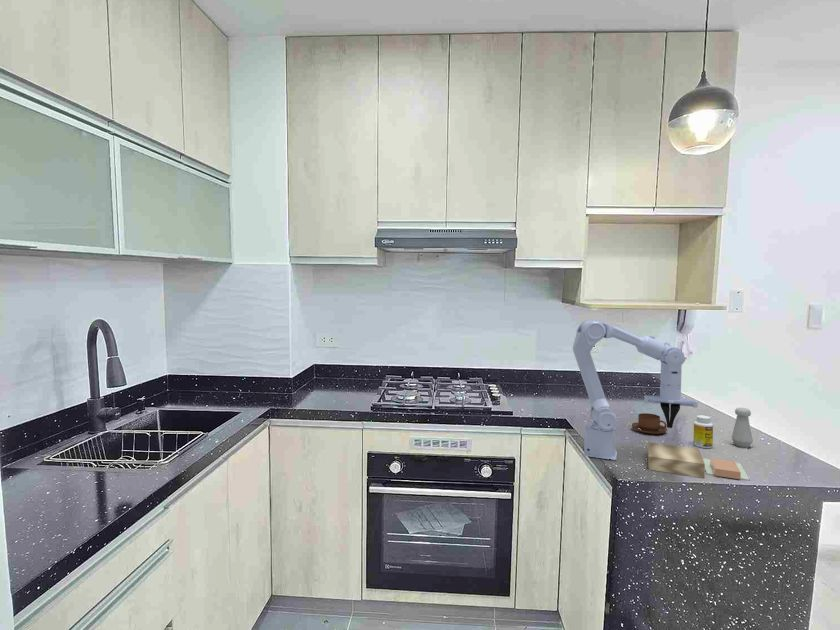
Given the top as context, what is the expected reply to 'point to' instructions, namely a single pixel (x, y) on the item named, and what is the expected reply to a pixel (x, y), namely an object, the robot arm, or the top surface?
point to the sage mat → (710, 472)
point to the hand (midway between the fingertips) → (669, 427)
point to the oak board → (675, 459)
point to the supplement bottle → (703, 432)
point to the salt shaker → (742, 428)
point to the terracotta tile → (725, 468)
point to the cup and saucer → (649, 424)
